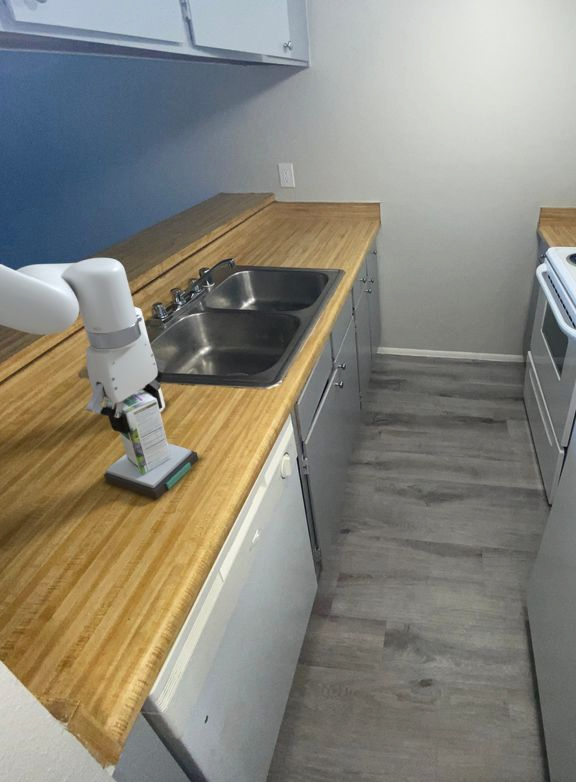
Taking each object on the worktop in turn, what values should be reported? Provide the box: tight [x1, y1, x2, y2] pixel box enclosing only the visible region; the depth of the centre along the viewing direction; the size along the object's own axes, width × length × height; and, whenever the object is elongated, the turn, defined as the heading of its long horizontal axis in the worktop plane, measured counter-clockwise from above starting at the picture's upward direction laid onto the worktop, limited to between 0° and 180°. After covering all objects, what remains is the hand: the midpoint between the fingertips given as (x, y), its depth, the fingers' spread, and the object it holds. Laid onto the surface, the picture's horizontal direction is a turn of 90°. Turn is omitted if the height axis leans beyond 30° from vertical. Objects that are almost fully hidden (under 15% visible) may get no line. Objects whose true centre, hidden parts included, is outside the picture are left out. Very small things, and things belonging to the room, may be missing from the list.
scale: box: [103, 442, 199, 500], centre depth 92 cm, size 12×11×3 cm
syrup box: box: [112, 388, 171, 474], centre depth 88 cm, size 6×6×14 cm
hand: (138, 418), depth 86 cm, fingers closed on syrup box, 6 cm apart
